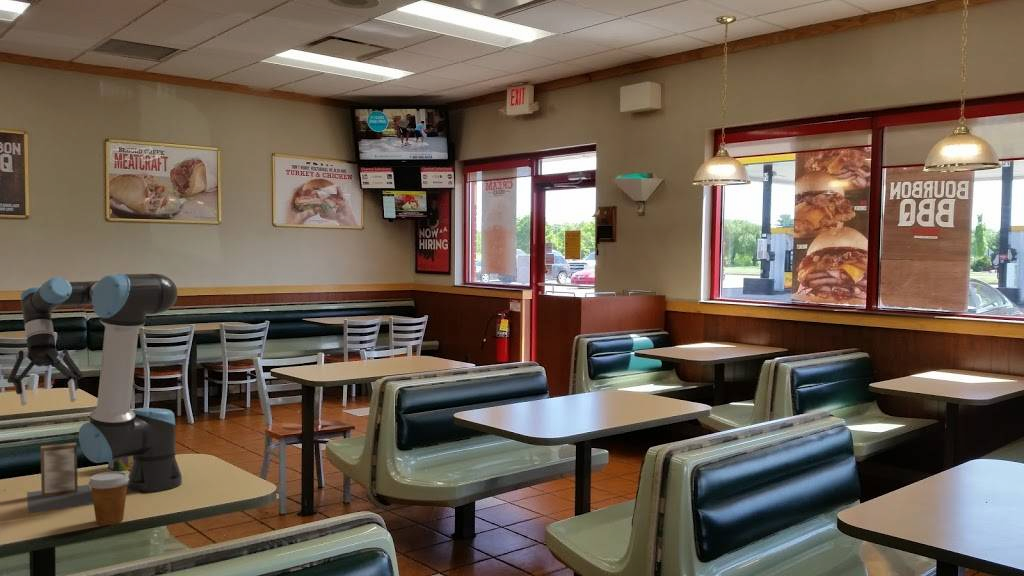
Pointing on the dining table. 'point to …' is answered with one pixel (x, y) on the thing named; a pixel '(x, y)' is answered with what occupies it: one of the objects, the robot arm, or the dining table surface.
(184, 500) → the dining table surface
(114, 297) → the robot arm
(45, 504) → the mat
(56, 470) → the menu board
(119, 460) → the chalk box
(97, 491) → the disposable coffee cup
